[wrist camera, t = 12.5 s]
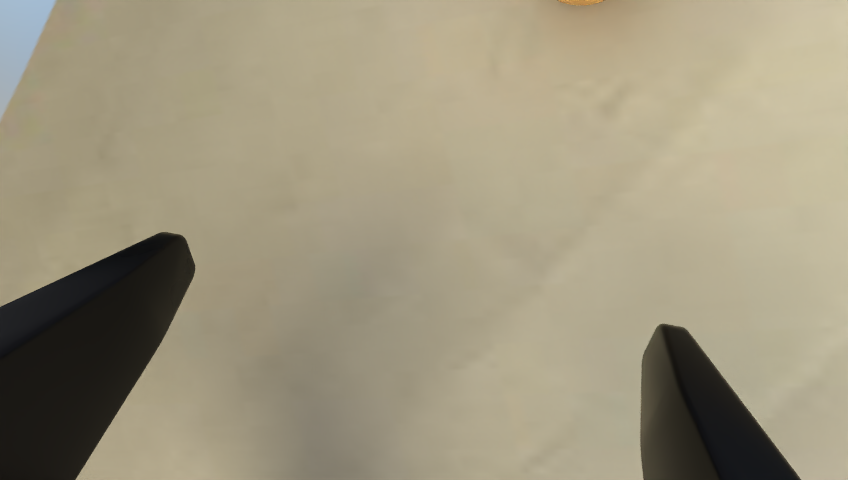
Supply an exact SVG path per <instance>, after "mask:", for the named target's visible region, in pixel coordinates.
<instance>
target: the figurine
mask: <svg viewBox="0 0 848 480" xmlns="http://www.w3.org/2000/svg"><path fill="white" fill-rule="evenodd" d="M558 1H560V2H563V3H566V4H570V5H591V4H595V3H599V2H602V1H604V0H558Z"/></svg>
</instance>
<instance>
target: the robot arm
mask: <svg viewBox="0 0 848 480" xmlns="http://www.w3.org/2000/svg"><path fill="white" fill-rule="evenodd" d="M194 273H195V264H194V261H193V258H192V255H191V252H190V249H189V247H188V244H187V241H186V239H185V238H184V237H183V236H182V235H179V234H174V233H168V232H161V233H158V234H156V235H154V236H152V237H150V238H147V239H145V240H143V241H141V242H139V243H137V244H135V245H132V246H130V247H128V248H126V249H124V250H122V251H120V252H117V253H115V254H113V255H111V256H109V257H107V258H104V259H102V260H100V261H98V262H96V263H94V264H92V265H89V266H87V267H85V268H83V269H81V270H79V271H77V272H74V273H72V274H70V275H68V276H66V277H64V278H62V279H59V280H57V281H55V282H53V283H51V284H49V285H46V286H44V287H42V288H40V289H38V290H36V291H34V292H31V293H29V294H27V295H25V296H23V297H21V298H19V299H16V300H14V301H12V302H10V303H8V304H6V305H4V306H1V307H0V480H76V478H77V476H78V475H79V473H80V472H81V470H82V468H83V467H84V465H85V464H86V462H87V460H88V459H89V457H90V456H91V454H92V452H93V451H94V449H95V448H96V446H97V444H98V443H99V441H100V440H101V438H102V436H103V435H104V433H105V432H106V430H107V428H108V427H109V425H110V424H111V422H112V420H113V419H114V417H115V416H116V414H117V412H118V411H119V409H120V408H121V406H122V404H123V403H124V401H125V400H126V398H127V396H128V395H129V393H130V392H131V390H132V388H133V387H134V385H135V384H136V382H137V380H138V379H139V377H140V376H141V374H142V372H143V371H144V369H145V368H146V366H147V364H148V363H149V361H150V360H151V358H152V356H153V355H154V353H155V352H156V350H157V348H158V347H159V345H160V343H161V342H162V340H163V338H164V336H165V334H166V332H167V330H168V328H169V326H170V324H171V322H172V320H173V318H174V316H175V314H176V312H177V310H178V308H179V306H180V304H181V301H182V299H183V297H184V295H185V293H186V291H187V289H188V287H189V285H190V283H191V281H192V279H193V277H194ZM640 446H641V459H642V469H643V478H644V480H801V479H800V477H799V476H798V475H797V473H796V472H795V471H794V470H793V468H792V467H791V466H790V464H789V463H788V462H787V460H786V459H785V458H784V456H783V455H782V454H781V452H780V451H779V450H778V449H777V447H776V446H775V445H774V443H773V442H772V441H771V439H770V438H769V437H768V435H767V434H766V433H765V431H764V430H763V429H762V428H761V426H760V425H759V424H758V422H757V421H756V420H755V418H754V417H753V416H752V414H751V413H750V412H749V410H748V409H747V408H746V406H745V405H744V404H743V403H742V401H741V400H740V399H739V397H738V396H737V395H736V393H735V392H734V391H733V389H732V388H731V387H730V385H729V384H728V383H727V382H726V380H725V379H724V378H723V376H722V375H721V374H720V372H719V371H718V370H717V368H716V367H715V366H714V364H713V363H712V362H711V361H710V359H709V358H708V357H707V355H706V354H705V353H704V351H703V350H702V349H701V347H700V346H699V345H698V343H697V342H696V341H695V340H694V338H693V337H692V336H691V334H690V333H689V332H688V331H687V330H686V329H685V328H683V327H679V326H673V325H668V324H660V325H659V326H658V327H657V328H656V330H655V332H654V334H653V336H652V338H651V340H650V342H649V344H648V346H647V348H646V350H645V352H644V355H643V359H642V377H641V430H640Z"/></svg>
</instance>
